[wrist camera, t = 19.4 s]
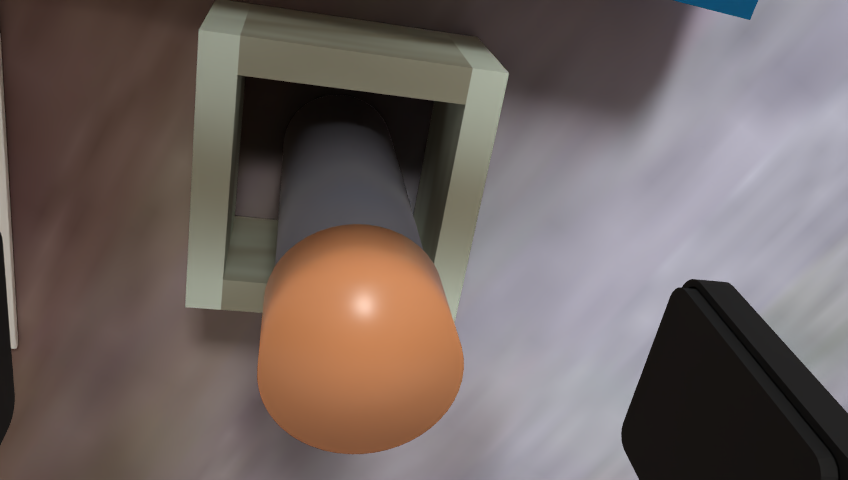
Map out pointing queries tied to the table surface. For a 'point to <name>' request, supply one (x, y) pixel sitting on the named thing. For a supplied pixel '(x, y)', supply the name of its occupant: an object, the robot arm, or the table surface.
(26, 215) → the table surface
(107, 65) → the table surface
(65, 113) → the table surface
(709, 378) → the robot arm
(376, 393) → the marker
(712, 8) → the book
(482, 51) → the pen holder
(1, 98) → the paper
